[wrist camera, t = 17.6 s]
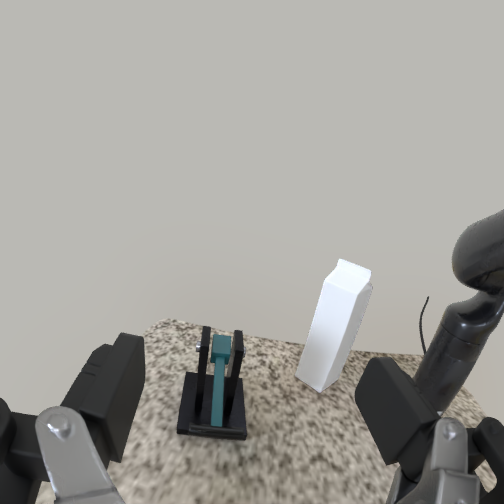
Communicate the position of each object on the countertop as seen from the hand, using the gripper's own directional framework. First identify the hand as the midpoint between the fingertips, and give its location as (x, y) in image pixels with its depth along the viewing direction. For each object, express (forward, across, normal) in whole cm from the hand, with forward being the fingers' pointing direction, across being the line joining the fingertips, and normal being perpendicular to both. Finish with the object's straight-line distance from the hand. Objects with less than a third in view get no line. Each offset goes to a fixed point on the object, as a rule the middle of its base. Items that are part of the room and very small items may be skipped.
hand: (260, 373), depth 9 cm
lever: (+16, 0, +17) cm, 24 cm away
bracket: (+21, 0, +26) cm, 33 cm away
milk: (+29, -18, +26) cm, 43 cm away
